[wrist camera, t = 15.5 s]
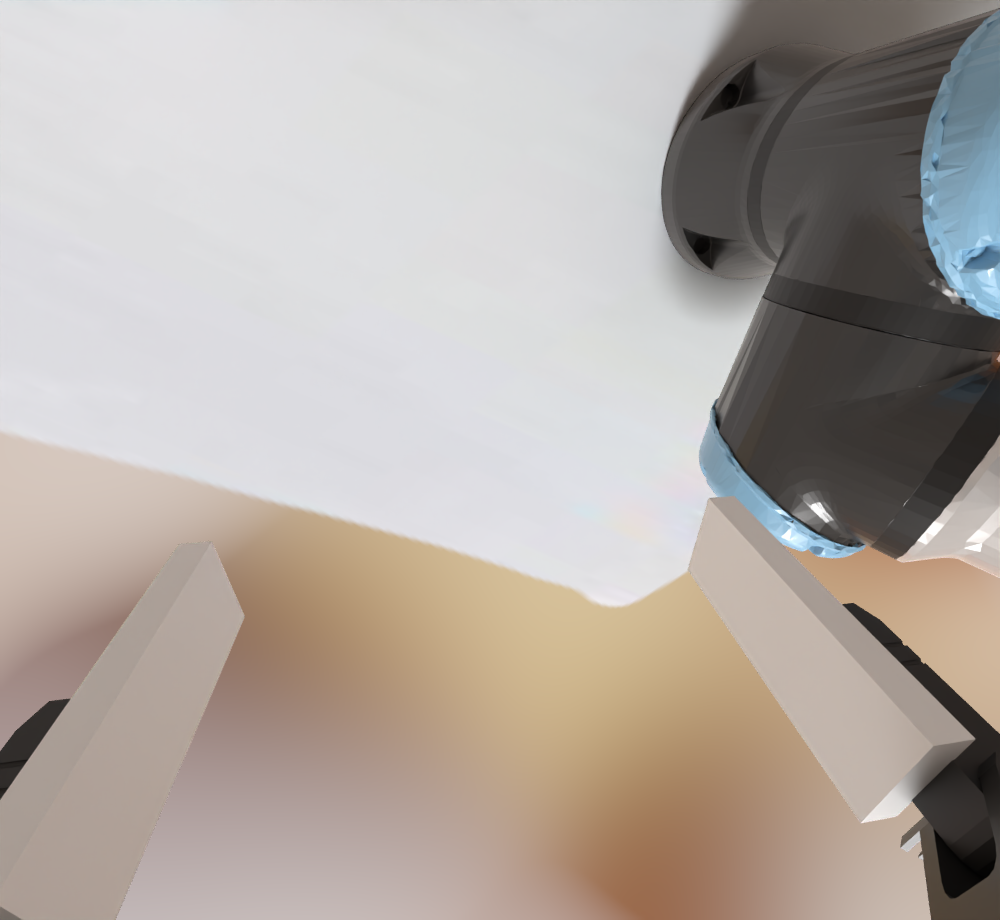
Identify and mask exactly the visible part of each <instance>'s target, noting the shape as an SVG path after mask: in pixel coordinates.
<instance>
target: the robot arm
mask: <svg viewBox="0 0 1000 920" xmlns="http://www.w3.org/2000/svg"><path fill="white" fill-rule="evenodd" d="M662 211H663V217H664V222H665V226H666V229H667V232H668V235H669V237H670V239H671V241H672V243H673V245H674V247H675V248H676V250H677V251H678V252H679V254H680V255H681V256H682V257H683V258H684V259H685V260H686V261H687V262H688V263H689V264H691V265H692V266H694V267H695V268H697V269H699V270H701V271H703V272H706V273H709V274H713V275H716V276H719V277H723V278H729V279H751V278H756V277H761V276H765V275H769V274H772V276H771V278H770V281H769V283H768V286H767V288H766V290H765V293H764V294H763V296H762V298H761V301H760V303H759V305H758V308H757V310H756V312H755V315H754V317H753V319H752V322H751V324H750V326H749V329H748V331H747V333H746V336H745V338H744V340H743V343H742V345H741V348H740V350H739V352H738V355H737V357H736V359H735V362H734V364H733V366H732V369H731V371H730V373H729V376H728V378H727V380H726V383H725V385H724V387H723V390H722V392H721V394H720V397H719V398H718V399H716V400H715V402H714V403H713V406H712V408H711V411H710V421H709V424H708V427H707V429H706V432H705V435H704V438H703V441H702V444H701V446H700V451H699V462H700V467H701V469H702V472H703V474H704V476H705V477H706V479H707V483H708V485H709V486H710V488H711V489H712V490H713V492H714V493H715V494H716V496H717V497H716V498H709V499H708V502H707V506H706V509H705V513H704V516H703V519H702V523H701V526H700V530H699V533H698V536H697V540H696V543H695V547H694V550H693V553H692V557H691V560H690V563H689V567H688V571H689V572H690V574H691V575H692V577H693V578H694V580H695V581H696V582H697V584H698V585H699V587H700V588H701V590H702V591H703V593H704V594H705V596H706V597H707V599H708V600H709V601H710V603H711V605H712V606H713V608H714V609H715V610H716V612H717V613H718V615H719V616H720V618H721V619H722V621H723V622H724V624H725V625H726V627H727V628H728V630H729V631H730V632H731V634H732V635H733V637H734V638H735V640H736V641H737V643H738V644H739V646H740V647H741V649H742V650H743V651H744V653H745V654H746V656H747V657H748V659H749V660H750V662H751V663H752V665H753V666H754V668H755V669H756V671H757V672H758V673H759V675H760V677H761V678H762V679H763V681H764V682H765V684H766V685H767V687H768V688H769V690H770V691H771V693H772V694H773V695H774V697H775V698H776V700H777V701H778V703H779V704H780V706H781V707H782V709H783V710H784V712H785V713H786V715H787V716H788V717H789V719H790V721H791V722H792V724H793V725H794V726H795V727H796V729H797V731H798V732H799V733H800V735H801V737H802V738H803V740H804V741H805V743H806V744H807V745H808V747H809V748H810V750H811V751H812V753H813V754H814V756H815V757H816V759H817V760H818V761H819V763H820V765H821V766H822V768H823V769H824V770H825V772H826V773H827V775H828V776H829V778H830V779H831V781H832V782H833V784H834V785H835V787H836V788H837V790H838V791H839V793H840V794H841V795H842V797H843V798H844V800H845V801H846V803H847V804H848V806H849V807H850V809H851V810H852V812H853V813H854V815H855V816H856V817H857V819H858V820H859V822H860V823H865V822H870V821H875V820H881V819H886V818H891V817H897V816H898V815H899V814H900V813H901V812H902V811H903V810H904V809H905V808H906V807H907V806H908V805H909V804H910V803H911V802H912V801H913V803H914V804H915V805H916V807H917V808H918V809H919V810H920V812H921V813H922V814H923V815H924V817H923V818H922V819H921V820H920V821H919V822H918V823H917V824H915V825H914V826H913V827H912V828H911V829H910V830H909V831H908V832H907V833H906V834H905V835H903V836H902V840H901V847H900V848H901V849H903V850H905V851H907V852H908V851H909V850H910V849H911V848H913V847H914V846H915V845H916V844H917V843H918V842H920V841H921V845H922V852H921V853H920V854H919V858H920V859H922V860H923V861H924V869H925V876H926V883H927V891H928V899H929V906H930V913H931V920H1000V734H999V733H998V732H997V731H996V730H995V729H994V728H993V727H992V726H991V725H990V724H989V723H987V722H986V721H985V720H984V719H983V718H982V717H981V716H980V715H979V714H978V713H977V712H976V711H975V710H974V709H973V708H972V707H971V706H970V705H969V704H968V703H967V702H966V701H964V700H963V699H962V698H961V697H960V696H959V695H958V694H957V693H956V692H955V691H954V690H953V689H952V688H951V687H950V686H949V685H948V684H947V683H946V682H945V681H943V680H942V679H941V678H940V677H939V676H938V675H937V674H936V673H935V672H934V671H933V670H932V669H931V668H930V667H929V666H928V665H927V664H926V663H925V664H923V663H922V662H921V659H920V658H919V657H918V656H917V655H916V654H915V653H914V652H913V651H912V650H911V649H910V648H909V647H908V646H904V645H903V643H902V641H901V639H900V638H898V637H897V636H896V635H895V634H894V633H893V632H892V631H891V630H890V629H889V628H888V627H887V626H886V625H885V624H884V623H883V622H882V621H880V620H879V619H878V618H876V617H875V616H873V615H871V614H870V613H868V612H867V611H865V610H864V609H862V608H860V607H859V606H857V605H856V604H854V603H849V604H841V603H840V602H839V601H838V600H837V599H836V598H835V597H834V596H833V595H832V594H831V593H830V592H829V591H828V590H827V589H826V588H825V587H824V586H823V585H822V584H821V583H820V582H819V581H818V580H817V579H816V578H815V577H814V576H813V575H812V574H811V573H810V572H809V571H808V570H807V569H806V568H805V567H804V566H803V565H802V564H801V563H800V562H799V561H798V560H797V559H796V558H795V557H794V556H793V555H792V554H791V553H790V552H789V551H788V550H787V549H786V548H785V547H784V546H783V545H782V544H784V545H786V546H788V547H791V548H793V549H796V550H799V551H805V550H810V551H811V552H812V553H813V554H815V555H816V556H820V557H826V558H842V557H846V556H849V555H852V554H853V553H855V552H858V551H861V550H863V549H864V548H865V546H866V545H867V546H870V547H872V548H874V549H876V550H878V551H880V552H882V553H884V554H886V555H888V556H890V557H892V558H894V559H896V560H898V561H900V562H909V561H918V560H926V559H934V558H957V559H960V560H962V561H964V562H966V563H968V564H971V565H972V566H975V567H977V568H979V569H981V570H983V571H985V572H988V573H990V574H992V575H994V576H997V577H998V578H1000V362H998V360H997V358H998V356H999V355H1000V8H999V9H996V10H992V11H989V12H986V13H983V14H980V15H977V16H974V17H971V18H968V19H964V20H961V21H958V22H955V23H952V24H949V25H946V26H943V27H940V28H936V29H933V30H930V31H927V32H924V33H921V34H918V35H915V36H911V37H908V38H905V39H902V40H899V41H896V42H893V43H890V44H887V45H883V46H880V47H877V48H874V49H871V50H867V51H865V52H862V53H858V54H851V53H847V52H843V51H839V50H835V49H831V48H827V47H823V46H819V45H815V44H808V43H795V44H787V45H781V46H777V47H774V48H771V49H768V50H765V51H763V52H760V53H758V54H755V55H753V56H750V57H748V58H746V59H743V60H741V61H740V62H738V63H736V64H734V65H733V66H731V67H730V68H728V69H727V70H726V71H724V72H723V73H722V74H720V75H719V76H718V77H717V78H716V79H715V80H713V81H712V82H711V83H710V84H709V85H708V86H707V87H706V89H705V90H704V91H703V92H702V93H701V94H700V95H699V97H698V98H697V99H696V101H695V102H694V103H693V105H692V106H691V108H690V109H689V111H688V112H687V114H686V115H685V117H684V119H683V121H682V122H681V124H680V126H679V128H678V130H677V132H676V134H675V137H674V139H673V142H672V144H671V147H670V150H669V153H668V157H667V160H666V164H665V169H664V175H663V182H662ZM244 617H245V616H244V614H243V611H242V609H241V607H240V604H239V602H238V600H237V598H236V595H235V593H234V591H233V589H232V586H231V584H230V582H229V579H228V577H227V575H226V572H225V570H224V568H223V566H222V563H221V561H220V559H219V556H218V554H217V552H216V549H215V547H214V545H213V543H212V541H209V542H198V543H186V544H178V546H177V547H176V549H175V550H174V552H173V553H172V555H171V556H170V557H169V559H168V560H167V562H166V563H165V565H164V566H163V567H162V569H161V570H160V572H159V573H158V575H157V576H156V578H155V579H154V580H153V582H152V583H151V585H150V586H149V588H148V589H147V590H146V592H145V593H144V595H143V596H142V597H141V599H140V600H139V602H138V603H137V605H136V606H135V608H134V609H133V610H132V612H131V613H130V615H129V616H128V618H127V619H126V620H125V622H124V623H123V625H122V626H121V628H120V629H119V630H118V632H117V634H116V635H115V636H114V638H113V639H112V640H111V642H110V643H109V645H108V646H107V648H106V649H105V651H104V652H103V653H102V655H101V656H100V658H99V659H98V661H97V662H96V664H95V665H94V666H93V668H92V669H91V671H90V672H89V674H88V675H87V676H86V678H85V679H84V681H83V682H82V683H81V685H80V687H79V688H78V690H77V691H76V692H75V694H74V695H73V696H72V698H71V699H63V700H55V701H49V702H48V703H47V704H46V705H45V706H43V707H42V708H41V709H40V710H39V711H38V712H36V713H35V714H34V715H33V716H32V717H31V718H30V719H29V720H27V722H25V723H24V724H23V725H22V726H21V727H20V728H19V729H17V730H16V731H15V732H14V734H13V735H12V737H11V738H10V739H9V740H8V742H7V743H6V744H5V746H4V747H3V748H2V750H1V751H0V920H116V918H117V915H118V913H119V910H120V908H121V906H122V903H123V901H124V899H125V896H126V894H127V892H128V889H129V887H130V885H131V882H132V880H133V878H134V875H135V873H136V870H137V868H138V866H139V864H140V861H141V859H142V857H143V854H144V852H145V849H146V847H147V845H148V842H149V840H150V838H151V835H152V833H153V831H154V828H155V826H156V824H157V821H158V819H159V817H160V814H161V812H162V810H163V807H164V805H165V803H166V800H167V798H168V795H169V793H170V791H171V788H172V786H173V784H174V781H175V779H176V777H177V774H178V772H179V770H180V767H181V765H182V763H183V760H184V758H185V755H186V753H187V750H188V749H189V746H190V744H191V741H192V739H193V737H194V734H195V732H196V729H197V727H198V725H199V722H200V720H201V718H202V715H203V713H204V711H205V708H206V706H207V704H208V702H209V699H210V697H211V694H212V692H213V690H214V687H215V685H216V683H217V680H218V678H219V676H220V673H221V671H222V669H223V666H224V664H225V662H226V659H227V657H228V655H229V652H230V650H231V647H232V645H233V643H234V641H235V638H236V636H237V633H238V631H239V629H240V626H241V624H242V622H243V619H244Z"/></svg>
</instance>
